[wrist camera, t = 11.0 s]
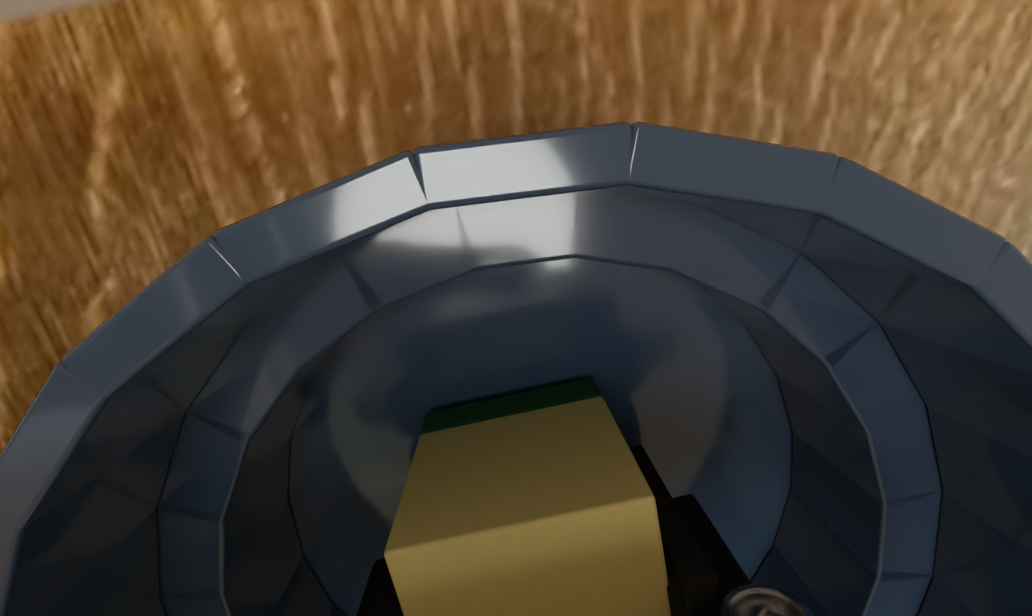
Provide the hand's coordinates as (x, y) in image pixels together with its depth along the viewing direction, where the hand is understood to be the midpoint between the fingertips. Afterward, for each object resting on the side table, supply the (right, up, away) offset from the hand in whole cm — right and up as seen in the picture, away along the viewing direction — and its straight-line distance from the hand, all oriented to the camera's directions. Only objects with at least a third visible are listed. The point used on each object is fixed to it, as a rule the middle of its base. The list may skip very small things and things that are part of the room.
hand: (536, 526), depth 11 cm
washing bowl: (0, 0, +2) cm, 2 cm away
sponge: (0, 0, +1) cm, 1 cm away
